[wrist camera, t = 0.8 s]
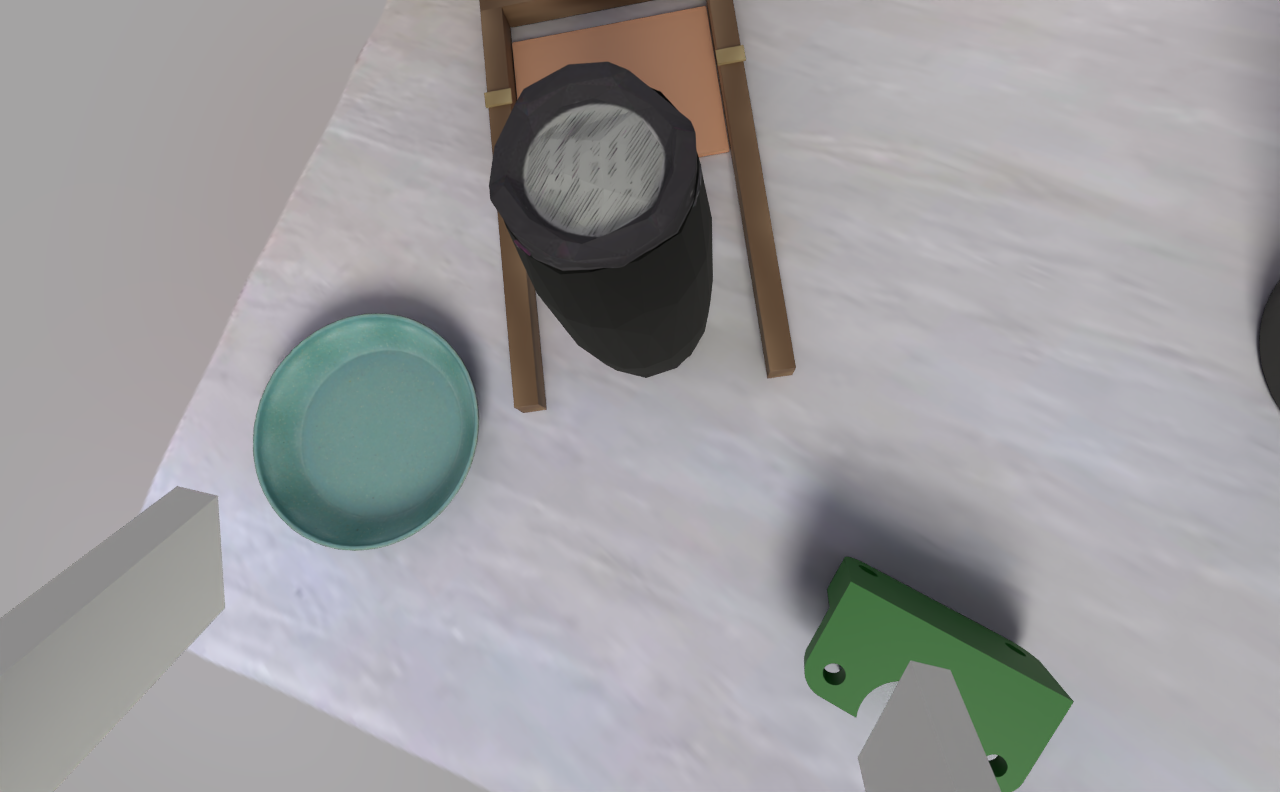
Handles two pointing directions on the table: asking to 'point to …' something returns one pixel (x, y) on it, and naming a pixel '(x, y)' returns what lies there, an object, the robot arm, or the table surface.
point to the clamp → (934, 664)
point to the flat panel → (643, 64)
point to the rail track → (527, 3)
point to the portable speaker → (609, 214)
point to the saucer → (365, 432)
